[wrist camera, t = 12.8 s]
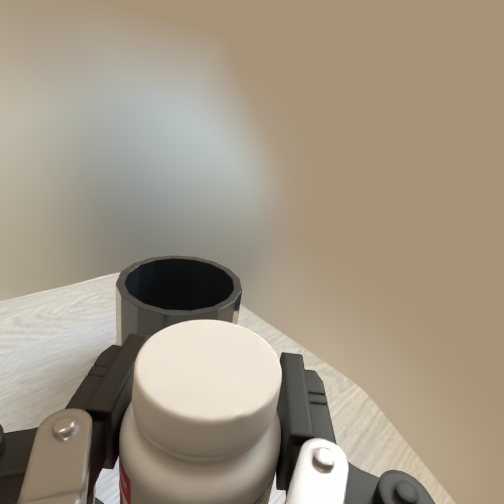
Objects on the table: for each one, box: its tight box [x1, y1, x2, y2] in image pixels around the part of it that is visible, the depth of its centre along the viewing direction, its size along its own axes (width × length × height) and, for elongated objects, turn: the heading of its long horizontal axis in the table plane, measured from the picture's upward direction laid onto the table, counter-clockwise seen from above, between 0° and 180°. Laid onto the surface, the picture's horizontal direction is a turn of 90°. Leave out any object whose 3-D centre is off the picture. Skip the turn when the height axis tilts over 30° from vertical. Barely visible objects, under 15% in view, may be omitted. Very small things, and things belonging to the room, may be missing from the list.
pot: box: [116, 256, 242, 346], centre depth 39 cm, size 13×13×10 cm
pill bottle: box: [119, 320, 282, 504], centre depth 11 cm, size 5×5×8 cm
